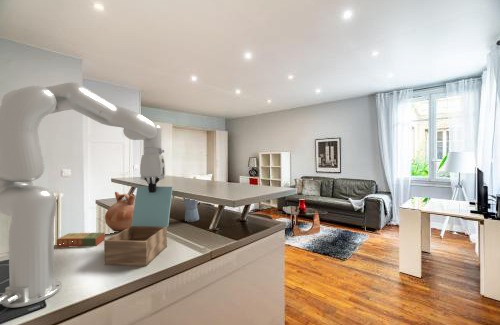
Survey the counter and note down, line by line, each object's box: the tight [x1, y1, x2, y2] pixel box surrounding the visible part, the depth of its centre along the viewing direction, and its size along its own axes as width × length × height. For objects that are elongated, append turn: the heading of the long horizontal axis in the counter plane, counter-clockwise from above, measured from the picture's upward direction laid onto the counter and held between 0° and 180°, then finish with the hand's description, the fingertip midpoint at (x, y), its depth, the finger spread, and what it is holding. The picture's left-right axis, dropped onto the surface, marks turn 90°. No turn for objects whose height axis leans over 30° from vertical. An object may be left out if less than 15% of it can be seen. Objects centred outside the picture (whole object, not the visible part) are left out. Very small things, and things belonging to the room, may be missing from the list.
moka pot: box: [182, 197, 201, 223], centre depth 146 cm, size 10×15×20 cm, turn 145°
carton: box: [56, 232, 106, 249], centre depth 106 cm, size 8×16×4 cm, turn 97°
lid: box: [131, 185, 174, 228], centre depth 107 cm, size 18×17×2 cm
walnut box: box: [103, 226, 168, 267], centre depth 94 cm, size 18×16×9 cm
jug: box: [104, 191, 136, 233], centre depth 128 cm, size 18×18×20 cm
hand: (152, 192), depth 106 cm, fingers closed
